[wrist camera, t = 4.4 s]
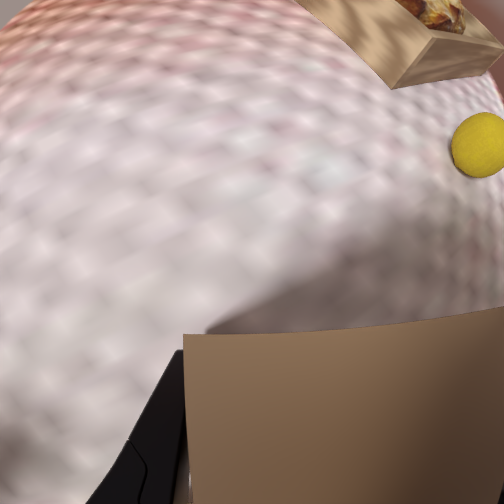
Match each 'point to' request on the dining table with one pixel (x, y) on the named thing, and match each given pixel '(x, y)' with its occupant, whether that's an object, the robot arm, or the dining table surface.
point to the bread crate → (407, 41)
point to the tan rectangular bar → (349, 414)
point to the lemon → (479, 145)
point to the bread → (438, 14)
